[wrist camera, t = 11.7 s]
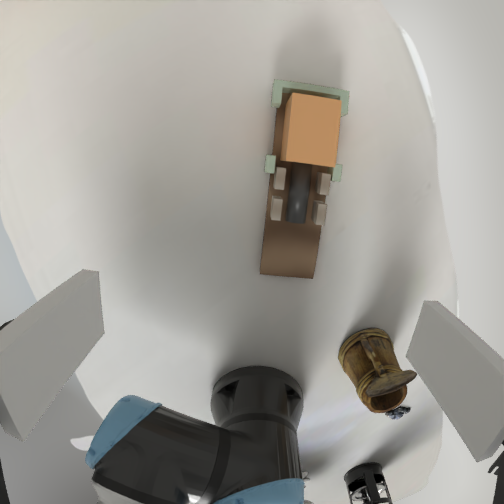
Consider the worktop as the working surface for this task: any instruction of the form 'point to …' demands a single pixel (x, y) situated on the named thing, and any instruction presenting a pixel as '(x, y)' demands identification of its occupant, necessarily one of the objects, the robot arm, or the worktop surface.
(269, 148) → the worktop surface
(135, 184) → the worktop surface
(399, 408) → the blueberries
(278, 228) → the board
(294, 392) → the robot arm
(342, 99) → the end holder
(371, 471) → the french press
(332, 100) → the plug
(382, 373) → the wooden mug
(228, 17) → the worktop surface
